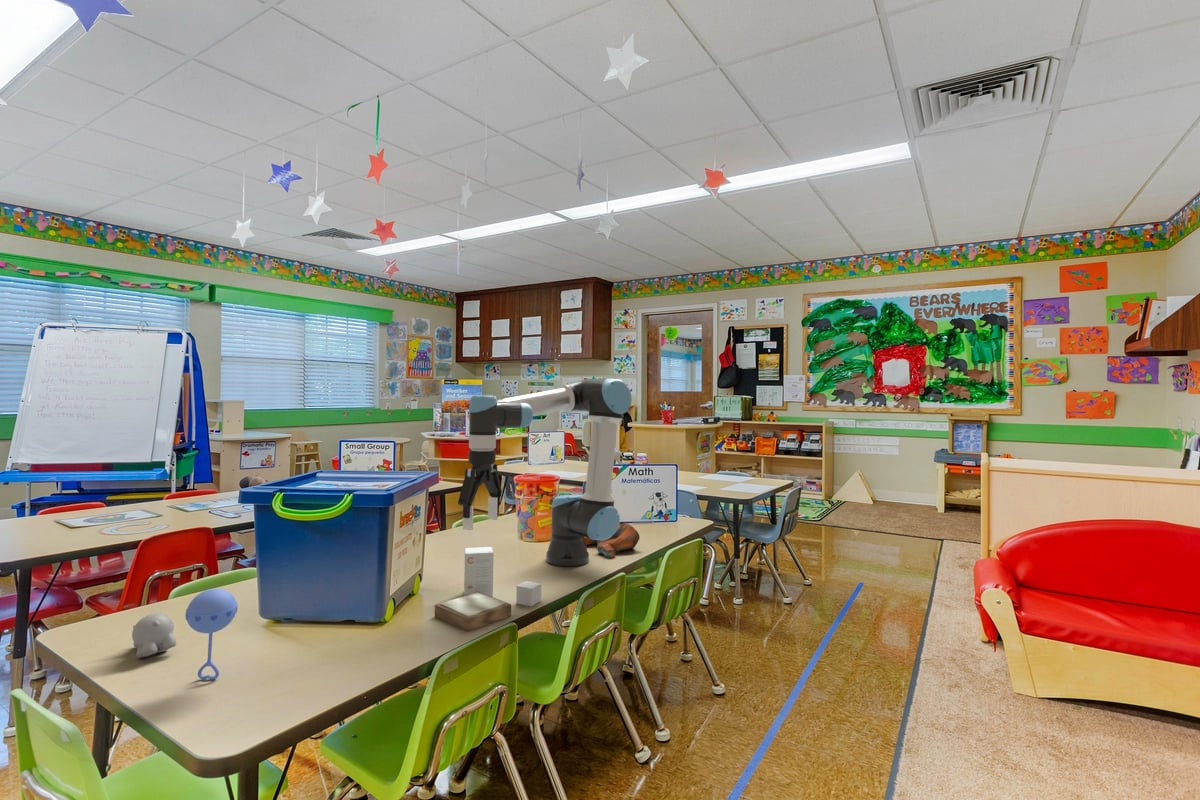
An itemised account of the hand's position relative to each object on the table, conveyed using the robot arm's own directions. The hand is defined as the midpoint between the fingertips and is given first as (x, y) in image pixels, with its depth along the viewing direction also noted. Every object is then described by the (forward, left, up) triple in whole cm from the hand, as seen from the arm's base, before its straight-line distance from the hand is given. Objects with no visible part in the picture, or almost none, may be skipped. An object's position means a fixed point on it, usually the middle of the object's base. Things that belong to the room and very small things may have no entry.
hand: (480, 524), depth 162 cm
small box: (-2, -3, -22) cm, 22 cm away
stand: (+9, +9, -21) cm, 25 cm away
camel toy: (-67, -10, -22) cm, 71 cm away
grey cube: (-8, +12, -21) cm, 26 cm away
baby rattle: (+65, -2, -22) cm, 68 cm away
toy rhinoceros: (+70, -25, -22) cm, 77 cm away
